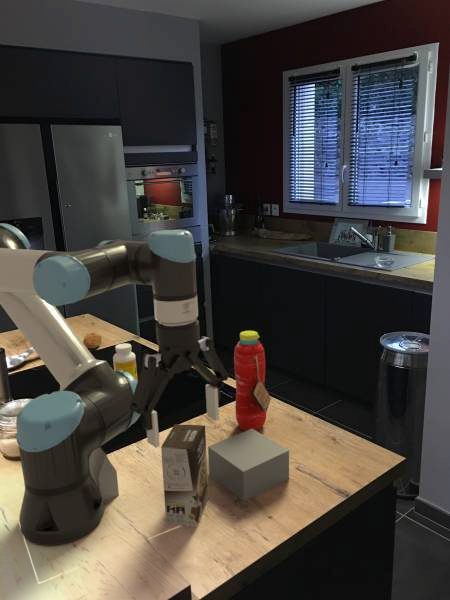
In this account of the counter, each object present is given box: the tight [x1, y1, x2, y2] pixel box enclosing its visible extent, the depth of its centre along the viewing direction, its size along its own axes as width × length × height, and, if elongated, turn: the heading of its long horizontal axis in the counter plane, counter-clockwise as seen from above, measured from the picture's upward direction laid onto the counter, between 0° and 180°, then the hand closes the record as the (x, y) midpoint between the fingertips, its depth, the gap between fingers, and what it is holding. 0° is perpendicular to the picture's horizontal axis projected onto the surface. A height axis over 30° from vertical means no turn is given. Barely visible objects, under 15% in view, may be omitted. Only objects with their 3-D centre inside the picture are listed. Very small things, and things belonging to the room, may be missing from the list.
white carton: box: [89, 446, 120, 502], centre depth 107 cm, size 4×7×10 cm, turn 31°
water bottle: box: [233, 330, 272, 432], centre depth 128 cm, size 12×8×25 cm, turn 19°
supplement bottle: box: [112, 342, 138, 382], centre depth 157 cm, size 7×7×13 cm
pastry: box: [82, 332, 103, 349], centre depth 194 cm, size 9×7×4 cm
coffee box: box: [160, 423, 210, 527], centre depth 99 cm, size 9×6×16 cm
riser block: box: [207, 429, 290, 502], centre depth 110 cm, size 12×12×7 cm
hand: (184, 430), depth 97 cm, fingers open, 13 cm apart
